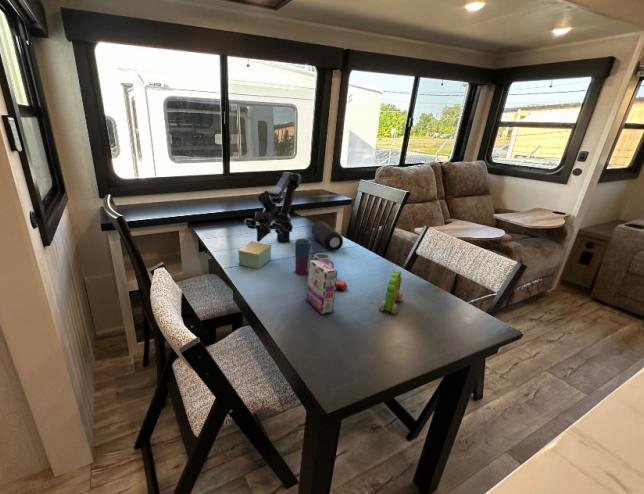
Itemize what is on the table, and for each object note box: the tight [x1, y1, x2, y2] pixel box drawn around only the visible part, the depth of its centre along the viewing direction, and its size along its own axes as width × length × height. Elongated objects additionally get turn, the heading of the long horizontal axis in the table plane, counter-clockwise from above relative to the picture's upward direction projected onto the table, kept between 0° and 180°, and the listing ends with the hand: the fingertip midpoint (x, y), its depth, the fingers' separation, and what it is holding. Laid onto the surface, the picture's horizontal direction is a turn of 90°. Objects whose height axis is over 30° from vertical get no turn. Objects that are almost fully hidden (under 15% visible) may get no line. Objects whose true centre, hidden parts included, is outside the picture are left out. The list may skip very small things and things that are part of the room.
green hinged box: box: [238, 246, 272, 270], centre depth 148 cm, size 13×11×7 cm
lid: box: [237, 240, 272, 256], centre depth 147 cm, size 13×11×1 cm
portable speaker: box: [311, 221, 344, 251], centre depth 173 cm, size 26×10×10 cm, turn 13°
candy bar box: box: [306, 259, 338, 315], centre depth 111 cm, size 11×5×16 cm, turn 23°
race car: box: [335, 278, 348, 292], centre depth 128 cm, size 13×5×4 cm, turn 63°
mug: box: [313, 252, 335, 269], centre depth 141 cm, size 10×7×7 cm
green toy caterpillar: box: [379, 269, 404, 315], centre depth 112 cm, size 16×5×15 cm, turn 148°
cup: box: [294, 238, 312, 276], centre depth 137 cm, size 7×7×15 cm
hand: (257, 241), depth 148 cm, fingers closed
